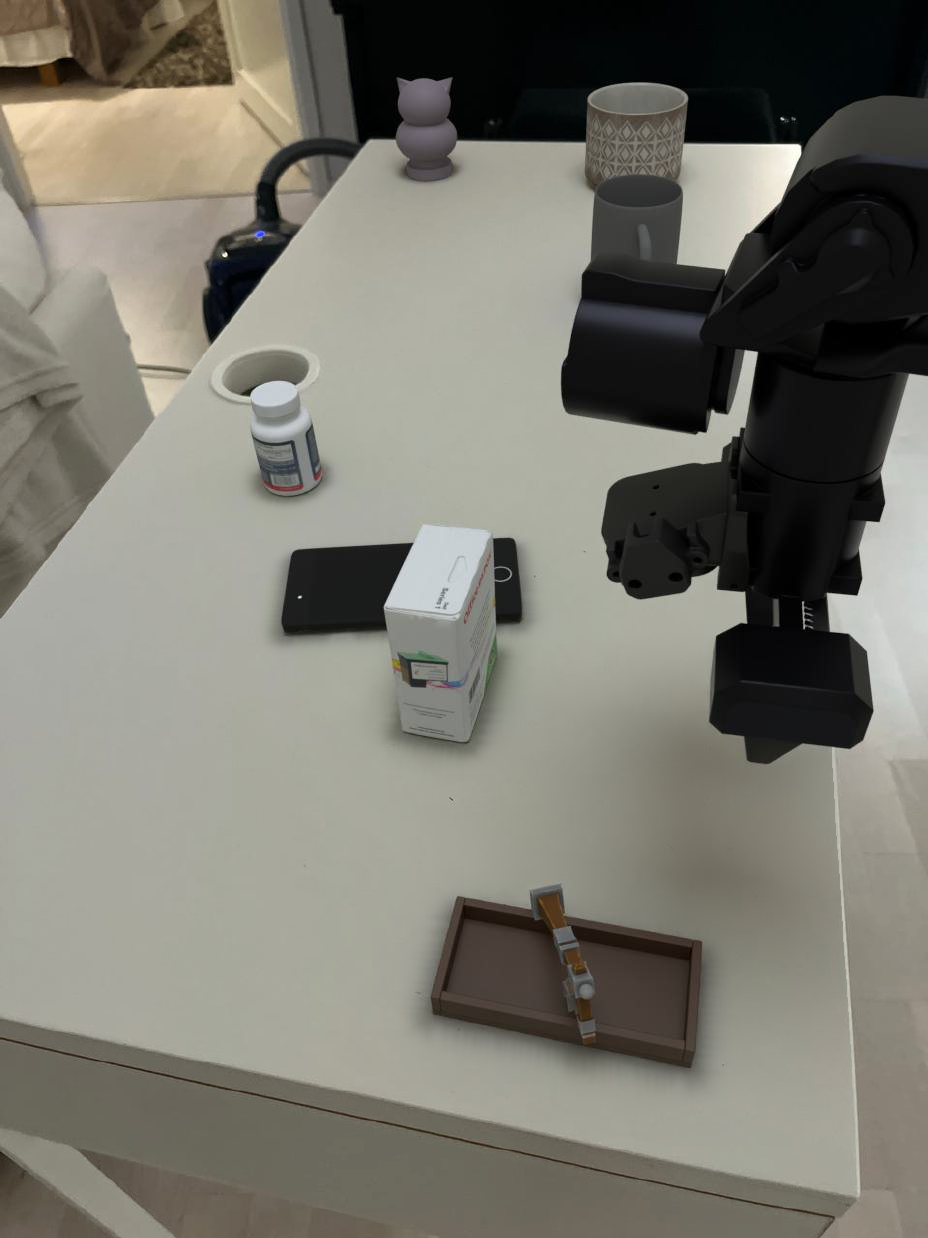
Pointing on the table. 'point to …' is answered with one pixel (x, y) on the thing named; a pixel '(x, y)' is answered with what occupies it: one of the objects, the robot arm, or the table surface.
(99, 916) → the table surface
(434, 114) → the cat figurine
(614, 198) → the mug
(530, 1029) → the walnut tray
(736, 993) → the table surface
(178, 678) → the table surface
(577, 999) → the wooden post with brackets
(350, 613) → the cell phone
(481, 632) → the ink box
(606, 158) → the planter
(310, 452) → the pill bottle
